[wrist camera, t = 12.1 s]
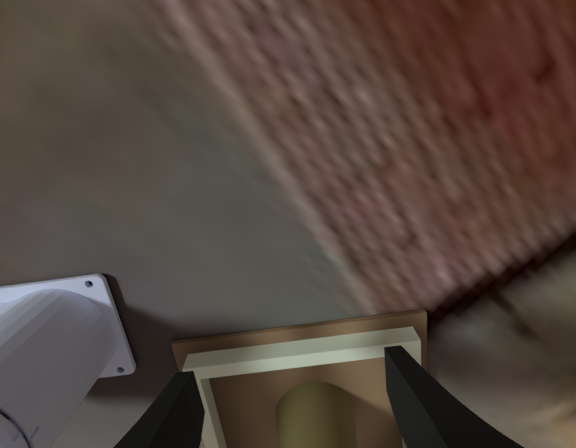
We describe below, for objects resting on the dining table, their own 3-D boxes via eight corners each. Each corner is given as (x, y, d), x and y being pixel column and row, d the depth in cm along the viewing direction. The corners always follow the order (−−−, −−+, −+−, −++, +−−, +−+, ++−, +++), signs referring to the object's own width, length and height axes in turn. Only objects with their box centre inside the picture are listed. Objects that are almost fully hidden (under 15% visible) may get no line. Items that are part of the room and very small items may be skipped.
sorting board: (222, 508, 30) (221, 513, 30) (172, 340, 25) (170, 344, 24) (425, 486, 30) (427, 491, 29) (424, 309, 24) (426, 312, 24)
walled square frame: (230, 504, 30) (227, 524, 28) (188, 354, 24) (182, 369, 23) (415, 484, 29) (422, 503, 28) (412, 326, 24) (420, 340, 23)
